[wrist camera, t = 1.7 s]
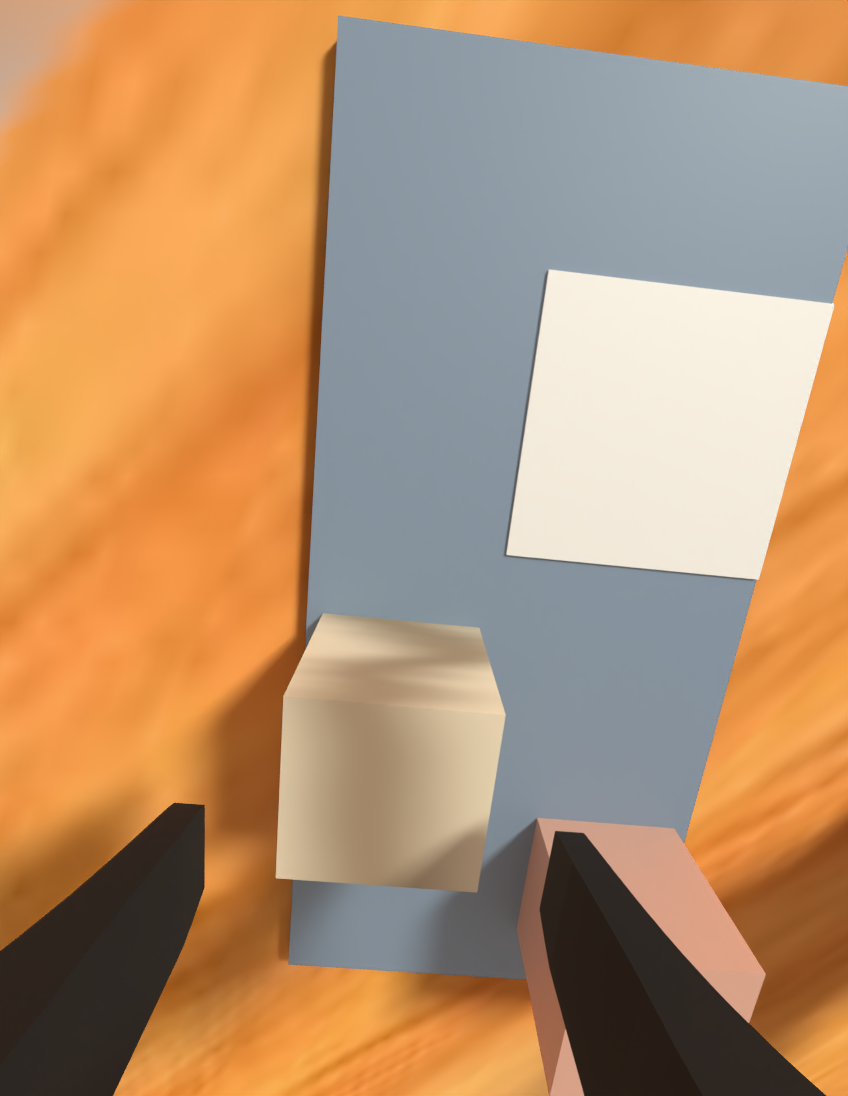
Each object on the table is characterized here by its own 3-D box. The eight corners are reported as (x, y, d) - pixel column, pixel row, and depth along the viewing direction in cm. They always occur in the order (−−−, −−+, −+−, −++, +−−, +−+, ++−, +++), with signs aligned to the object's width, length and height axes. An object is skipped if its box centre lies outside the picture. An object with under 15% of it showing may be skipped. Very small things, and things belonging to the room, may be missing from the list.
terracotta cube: (674, 828, 18) (765, 974, 14) (645, 936, 20) (720, 1106, 15) (537, 817, 18) (581, 961, 13) (516, 928, 20) (549, 1096, 15)
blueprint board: (869, 106, 14) (894, 90, 13) (637, 971, 21) (645, 990, 20) (341, 33, 13) (337, 12, 12) (292, 949, 20) (287, 967, 20)
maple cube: (479, 627, 16) (505, 715, 12) (460, 762, 18) (476, 892, 13) (322, 613, 16) (283, 696, 11) (314, 750, 17) (275, 878, 13)
